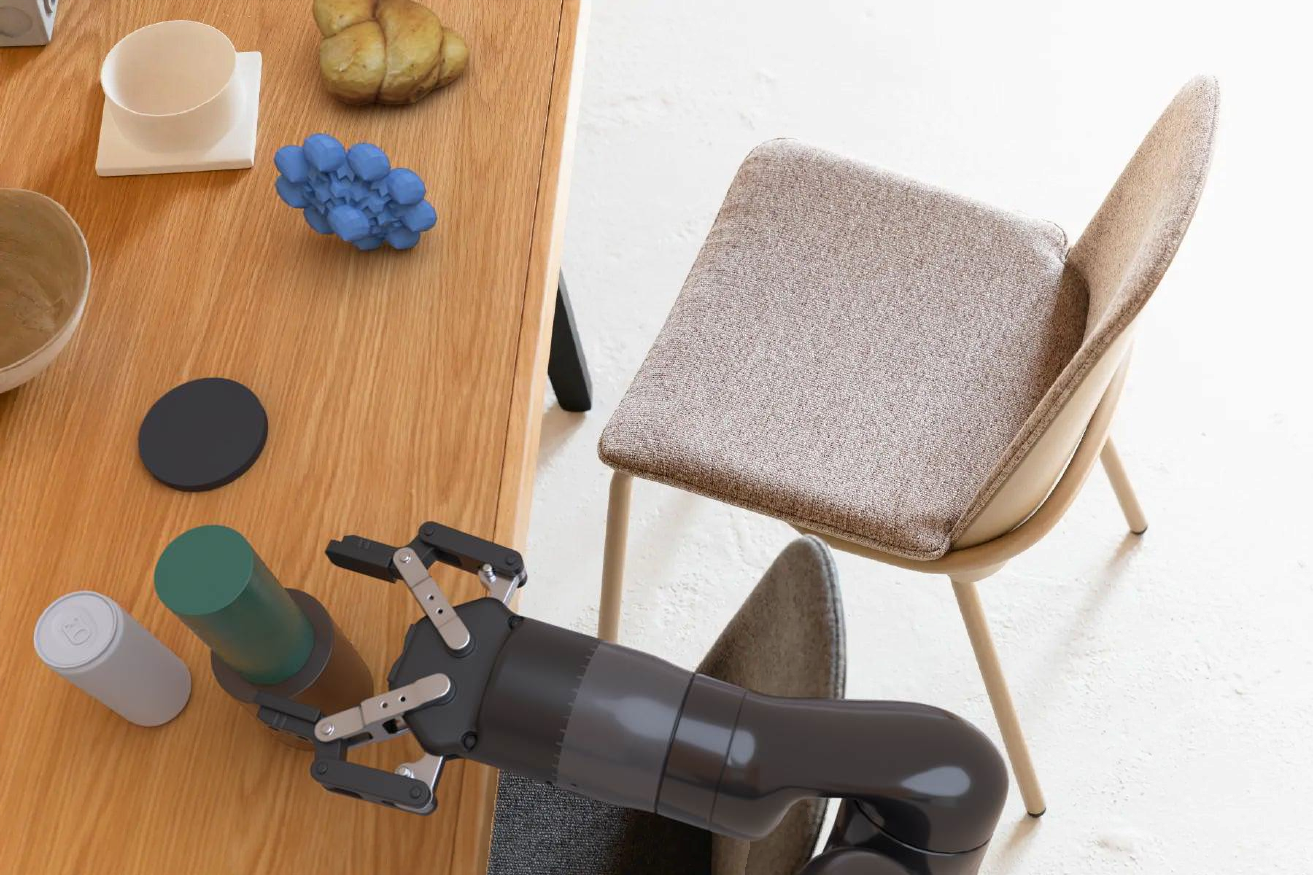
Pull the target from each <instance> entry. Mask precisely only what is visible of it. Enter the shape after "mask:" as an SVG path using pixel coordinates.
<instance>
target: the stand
mask: <svg viewBox="0 0 1313 875" xmlns="http://www.w3.org/2000/svg"><path fill="white" fill-rule="evenodd" d="M284 589H285V590H286V591H287V592H288V594H289V595H290V596H291V597H292V599H293V600H294V601H295V603H296V604H297V605H298V606H299V608H300V609H301V610H302V612H303V613H304V614H305V615H306V617H307V618H308V619H309V621H310V623H311V625H312V628H313V632H314V645H313V650H312V652H311V655H310V657H309V659H308V661H307V662H306V664H305V665H304V666H303V667H302V669H301V670H300V671H299V672H298V673H296V674H295V675H294V676H292V677H291V678H289V679H287V680H285V681H283V682H280V683H277V684H273V685H257V684H253V683H250V682H248V681H246V680H244V679H243V678H241V677H240V676H239V675H238V674H237V673H236V672H235V671H234V670H233V669H232V668H231V667H229V666H228V665H227V664H226V663H225V662H224V661H223V660H222V659H221V658H220V657H219V656H218V655H217V654H216V653H215V652H214V651H213V650H212V649H211V648H210V665H211V671H212V673H213V676H214V678H215V680H216V682H217V683H218V685H219V686H220V688H221V689H222V690H223V692H225V693H226V694H227V695H228V696H229V697H230V698H232V699H233V700H234V701H236V703H237V704H238V705H239V706H241V707H242V708H243V709H244V710H245V711H246V712H248V713H249V714H250V715H251V716H252V717H253V718H254V719H256V720H257V722H259V723H260V724H261V725H262V726H264V728H266V729H267V730H268V731H269V732H270V733H271V734H273V736H275V737H276V738H277V739H278V740H279V741H280V742H282V743H283V744H285V745H287V746H289V747H290V748H294V749H296V750H301V751H312V752H313V751H315V745H314V744H312V743H309V742H306V741H303V740H300V739H297V738H294V737H291V736H288V735H285V734H282V733H278V732H275V731H272V730H271V729H270V728H269V727H268V726H266V725H265V724H264V723H263V722H262V721H261V720H260V719H259V718H258V717H257V716H256V715H257V713H258V710H257V709H256V708H255V707H254V706H253V705H252V704H251V703H250V701H251V699H252V697H253V695H254V693H255V691H256V689H258V690H262V691H266V692H269V693H272V694H275V695H278V696H281V697H284V698H287V699H290V700H294V701H297V702H300V703H303V704H306V705H309V706H312V707H315V708H318V709H321V710H322V711H323V712H324V713H325V714H326V715H327V716H331V715H334V714H337V713H340V712H343V711H346V710H348V709H351V708H354V707H357V706H358V705H359V704H360V703H361V702H362V701H364V700H367V699H369V698H372V697H374V681H373V677H372V676H373V675H372V673H371V671H370V669H369V667H368V664H367V663H366V662H365V660H364V659H363V658H362V656H361V655H360V653H359V652H358V651H357V650H356V648H355V647H354V646H353V643H351V641H350V640H349V639H348V637H347V636H346V635H345V633H344V632H343V630H342V629H341V627H340V626H339V625H338V624H337V622H336V621H335V620H334V618H333V617H332V615H331V614H330V612H329V611H328V610H327V609H326V607H325V606H324V604H323V603H321V602H320V600H318V598H316V597H315V596H313V595H312V594H310V593H307V592H306V591H303V590H300V589H296V588H292V587H284Z"/></svg>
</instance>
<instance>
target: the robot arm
mask: <svg viewBox="0 0 1313 875" xmlns="http://www.w3.org/2000/svg"><path fill="white" fill-rule="evenodd" d="M324 554H325V556H326V557H327V559H328V560H329V562H330V563H331V564H332V565H333V566H336V567H337V568H339V569H343V570H347V571H350V572H354V573H357V574H361V575H364V576H367V577H370V578H374V579H377V580H381V581H384V582H387V583H390V584H394V585H396V584H397V581H398V580H400V581H403V582H404V584H405V586H406V587H407V589H408V590H409V591H410V593H411V595H412V596H413V598H414V599H415V601H416V602H417V604H418V606H419V607H420V609H421V611H422V612H423V614H424V616H423V617H420V618H419V619H418V620H417V621H416V622H415V623H411V622H410V624H409V627H408V629H407V630H406V633H405V636H404V641H403V648H402V652H401V653H400V655H399V657H397V659H395V660H396V661H395V662H394V663H393V664H392V666H391V669H390V670H389V673H388V675H387V677H386V681H387V683H388V686H387V688H388V691H387V692H384V693H382V694H378V695H375V696H373V697H372V698H369V699H367V700H364V701H362V702H361V703H360V704H359V705H358V706H357V707H354V708H351V709H348V710H346V711H343V712H340V713H337V714H334V715H331V716H327V715H326V714H325V713H324V712H323V711H322V710H321V709H318V708H315V707H312V706H309V705H306V704H303V703H300V702H297V701H294V700H290V699H287V698H284V697H281V696H278V695H275V694H272V693H269V692H266V691H262V690H258V689H256V691H255V693H254V695H253V697H252V699H251V701H250V703H251V704H252V705H253V706H254V707H255V708H256V709H257V710H258V713H257V715H256V716H257V717H258V718H259V719H260V720H261V721H262V722H263V723H264V724H265V725H266V726H268V727H269V728H270V729H271V730H272V731H275V732H278V733H282V734H285V735H288V736H291V737H294V738H297V739H300V740H303V741H306V742H309V743H312V744H314V745H315V750H314V760H313V761H312V762H311V765H310V767H309V773H310V776H311V778H312V779H313V780H314V781H316V782H317V783H319V784H320V785H321V786H322V787H323V788H324V789H325V790H326V791H327V792H330V793H333V794H336V795H340V796H344V797H348V798H351V799H355V800H359V801H363V802H367V803H371V804H375V805H378V806H383V807H386V808H390V809H393V810H398V811H401V812H406V813H409V814H413V815H417V816H421V817H428V816H431V815H432V814H434V813H435V812H436V811H437V809H438V806H439V800H438V797H437V796H436V793H437V790H438V787H439V784H440V781H441V778H442V775H443V773H444V772H443V771H444V769H445V766H446V763H447V762H449V761H453V760H468V761H473V762H476V763H479V764H482V765H484V766H485V765H486V766H489V767H491V768H495V769H498V770H501V771H504V772H507V773H510V774H513V775H516V776H520V777H522V778H526V779H529V780H532V781H535V782H538V783H541V784H544V785H547V786H549V787H554V788H556V789H559V790H562V791H565V792H567V793H568V794H569V795H571V796H574V797H577V798H581V799H583V800H589V799H590V800H594V801H597V802H599V803H600V802H601V803H604V804H606V805H611V806H617V807H622V808H627V809H635V810H639V811H645V812H647V813H651V814H655V813H656V814H657V815H658V816H659V815H660V816H663V817H665V818H668V819H672V820H675V821H678V822H681V823H684V824H688V825H691V826H693V827H697V828H700V829H703V830H706V831H709V832H711V833H714V834H718V835H721V836H723V837H728V838H731V839H735V840H739V841H745V842H756V841H761V840H763V839H766V838H767V837H769V836H771V835H772V833H773V832H774V831H775V830H776V829H777V827H778V826H779V825H780V823H781V821H782V820H783V819H784V818H785V816H786V815H787V813H788V811H789V809H790V808H791V807H792V806H793V805H794V804H796V803H797V802H800V801H801V800H811V799H813V800H814V799H840V802H839V806H838V809H837V812H836V815H835V819H834V821H833V825H832V827H831V829H830V833H829V835H828V837H827V839H826V842H825V844H824V846H823V849H822V851H821V853H818V854H817V855H816V856H814V857H812V858H811V859H809V860H808V861H807V862H806V863H805V864H803V865H802V866H801V868H800V869H799V870H798V871H797V872H796V873H795V875H978V874H979V870H980V868H981V866H982V863H983V860H984V858H985V856H986V853H987V851H988V849H989V846H990V843H991V840H992V838H993V836H994V832H995V831H996V828H997V826H998V824H999V822H1000V819H1001V816H1002V814H1003V811H1004V809H1005V806H1006V803H1007V799H1008V794H1009V789H1010V774H1009V770H1008V766H1007V763H1006V761H1005V758H1004V757H1003V754H1002V753H1001V750H1000V749H999V748H998V746H997V745H996V744H995V743H994V741H993V740H992V739H991V738H990V737H989V736H988V735H987V734H986V733H985V732H983V730H981V729H980V728H979V727H977V726H976V725H975V724H974V723H972V722H971V721H969V720H967V719H965V718H964V717H962V716H961V715H959V714H956V713H955V712H952V711H951V710H948V709H945V708H941V707H939V706H936V705H932V704H927V703H924V702H923V703H922V702H917V701H913V700H912V701H911V700H910V701H909V700H899V699H872V698H871V699H866V698H835V697H834V698H833V697H821V696H820V697H817V696H816V697H815V696H811V697H810V696H783V695H781V696H780V695H772V694H767V693H763V692H760V691H758V690H754V689H751V688H747V687H745V686H741V685H739V684H736V683H733V682H732V683H731V682H728V681H725V680H721V679H718V678H715V677H711V676H709V675H706V674H701V673H698V672H697V673H696V672H694V671H692V670H689V669H687V668H683V667H681V666H679V665H677V664H675V663H672V662H671V661H668V660H666V659H664V658H662V657H659V656H657V655H655V654H651V653H648V652H645V651H643V650H639V649H636V648H632V647H629V646H625V645H622V644H619V643H616V642H612V641H609V640H606V639H602V638H600V637H596V636H592V635H588V634H586V633H583V632H578V631H576V630H572V629H569V628H564V627H562V626H560V625H556V624H551V623H548V622H545V621H542V620H538V619H536V618H532V617H528V616H524V615H520V614H518V613H515V612H514V611H512V610H511V609H510V608H509V606H510V603H511V601H512V599H513V597H514V594H515V593H516V590H517V589H520V588H522V587H525V585H526V584H527V582H528V578H529V576H528V573H527V569H526V566H525V563H524V559H523V556H522V554H521V553H520V551H518V550H515V549H513V548H509V547H507V546H505V545H504V546H503V545H501V544H499V543H495V542H493V541H490V540H487V539H484V538H481V537H478V536H475V535H473V534H470V533H467V532H464V531H461V530H459V529H456V528H453V527H451V526H447V525H445V524H442V523H440V522H437V521H433V520H429V521H424V523H422V524H421V525H420V526H419V528H418V530H417V535H416V536H415V537H414V538H413V539H412V540H411V541H410V542H409V543H408V544H406V545H404V546H393V545H390V544H386V543H383V542H380V541H375V540H372V539H369V538H366V537H363V536H360V535H356V534H349V535H343V537H342V539H341V540H337V539H330V540H329V542H328V544H327V546H326V548H325V550H324ZM436 562H440V563H442V564H444V565H446V566H447V565H448V566H451V567H453V568H456V569H459V570H461V571H464V572H466V573H470V574H472V575H475V576H477V578H478V580H479V582H480V585H481V587H482V588H483V589H485V590H486V591H488V592H489V595H488V596H482V597H480V598H476V599H473V600H470V601H466V602H463V603H459V604H457V605H453V606H452V605H451V603H450V602H449V600H448V599H447V597H446V596H445V594H444V592H443V591H442V590H441V588H440V586H439V585H438V583H437V582H436V581H435V579H434V577H433V576H432V575H431V574H430V572H429V571H428V570H430V568H431V567H432V566H433V565H434V564H435V563H436ZM408 734H412V736H413V738H414V739H415V740H416V742H417V743H418V745H419V747H420V748H421V749H422V751H423V752H424V754H423V755H422V756H423V757H422V758H420V759H419V760H418V761H414V762H408V761H407V762H402V763H401V764H399V765H397V767H396V768H395V769H394V772H391V771H386V770H382V769H378V768H375V767H371V766H367V765H363V764H359V763H356V762H351V761H348V752H350V751H353V750H355V749H358V748H362V747H364V746H368V745H369V744H370V745H371V744H373V743H385V742H388V741H391V740H394V739H396V738H400V737H402V736H405V735H408Z"/></svg>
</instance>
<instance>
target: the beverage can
mask: <svg viewBox="0 0 1313 875" xmlns="http://www.w3.org/2000/svg"><path fill="white" fill-rule="evenodd" d="M32 640H33V645H34V650H35V652H36V653H37V655H38V657H39V658H40V659H41V661H42V663H43V664H44V665H45V666H47V668H49V669H50V670H51V671H52V672H54V673H55V674H57V675H58V676H60V677H61V678H63V679H64V680H66V681H67V682H68V683H70V684H72V685H74V686H75V687H76V688H78V689H80V690H81V691H83V692H84V693H85V694H88V695H89V696H91V697H92V698H94V699H95V700H97V701H98V702H100V703H101V704H103V705H104V706H105V707H107V708H109V709H110V710H111V711H113V712H115V713H116V714H117V715H119V716H120V717H122V718H124V719H125V720H126V721H128V722H130V723H132V724H135V725H136V726H141V727H158V726H160V725H163V724H167V723H168V722H170V721H171V720H173V719H174V718H176V717H177V716H178V715H179V713H180V712H182V711H183V709H184V708H185V706H186V704H187V703H188V701H189V698H190V695H191V692H192V677H191V671H190V669H189V668H188V666H187V664H186V663H185V662H184V661H183V660H182V659H181V658H180V657H179V656H178V655H177V654H176V653H174V652H173V651H172V650H171V649H170V648H169V647H167V645H165V644H164V643H163V642H162V641H161V640H159V638H157V637H156V636H155V635H153V634H152V633H151V631H149V630H148V629H147V628H146V627H145V626H143V625H142V624H141V623H140V622H139V621H138V620H137V619H135V618H134V617H133V616H132V615H131V614H130V613H129V612H127V610H125V609H124V608H123V607H121V606H120V605H119V604H118V603H117V602H116V601H115V600H114V599H113V598H111V597H109V596H106V595H105V594H101V593H99V592H96V591H93V590H80V591H73V592H70V593H67V594H64V595H62V596H60V597H58V598H57V599H56V600H54V601H52V602H51V604H50V605H48V606H47V607H46V608H45V609H44V611H43V612H42V614H40V616H39V618H38V620H37V622H36V624H35V627H34V632H33V638H32Z"/></svg>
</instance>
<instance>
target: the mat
mask: <svg viewBox="0 0 1313 875" xmlns="http://www.w3.org/2000/svg"><path fill="white" fill-rule="evenodd" d="M268 434H269V420H268V415H267V413H266V410H265V408H264V407H263V405H262V403H261V401H260V400H259V397H257V395H256V393H254V392H253V391H252V390H251V389H250V388H249V387H248V386H245V385H244V384H242V383H240V382H238V381H236V380H233V379H229V378H224V377H203V378H196V379H194V380H193V379H192V380H190V381H187V382H183V383H182V384H180V385H177V386H175V387H174V388H172V389H171V390H169V391H168V392H166V393H165V394H163V395H162V396H161V397H159V399H158V400H157V401H156V402H154V403H153V405H152V406H151V407H150V409H148V411H147V413H146V415H145V416H144V418H143V420H142V423H141V425H140V428H139V432H138V437H137V448H138V453H139V456H140V460H141V461H142V463H143V465H144V466H145V468H146V469H147V471H148V472H149V473H150V474H151V475H152V476H153V477H154V478H155V479H156V480H157V481H158V482H160V483H161V484H163V485H164V486H167V487H169V488H171V489H174V490H177V491H182V492H188V493H189V492H191V493H195V492H196V493H197V492H205V491H211V490H214V489H219V488H221V487H223V486H225V485H226V486H227V485H228V484H229V483H232V482H234V481H236V480H237V479H238V478H240V477H241V476H242V475H243V474H245V473H246V472H247V471H248V470H249V469H250V468H251V467H252V466H253V465H254V464H255V463H256V461H257V460H258V458H259V457H260V456H261V454H262V452H263V450H264V447H265V446H266V442H267V438H268Z"/></svg>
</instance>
